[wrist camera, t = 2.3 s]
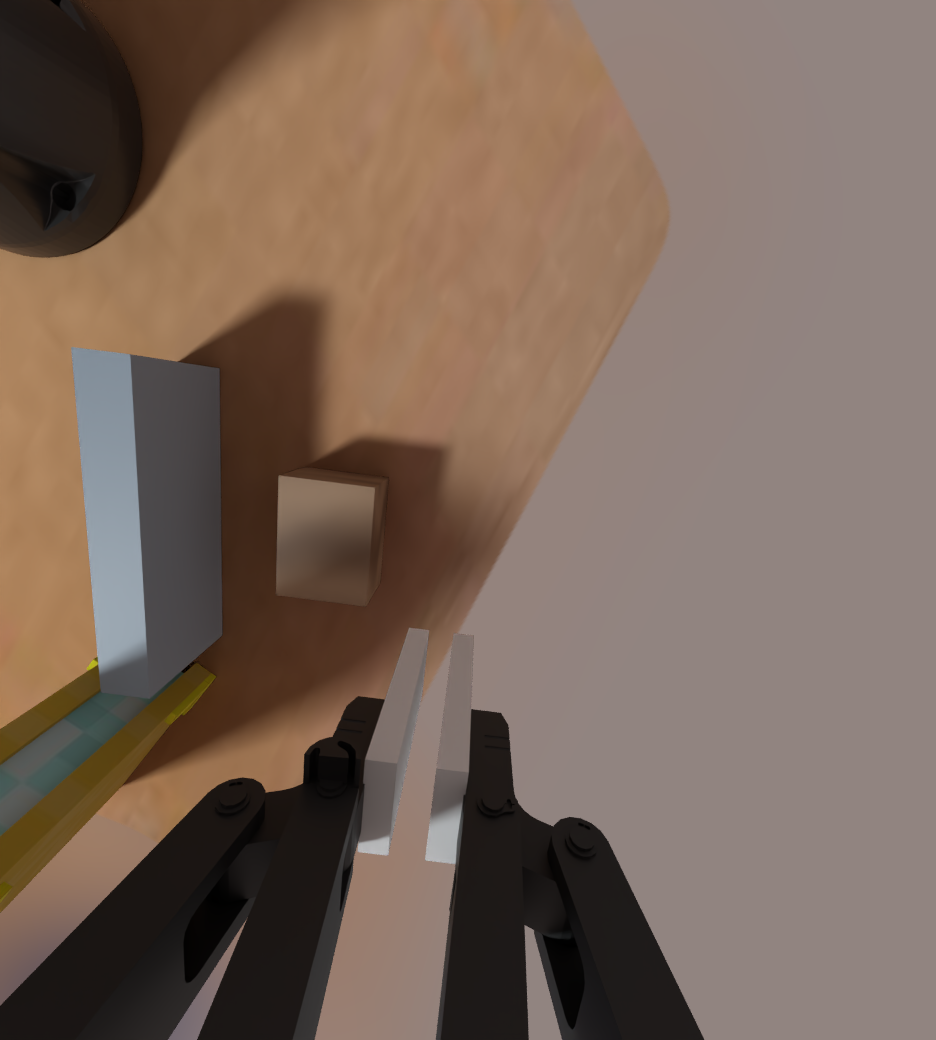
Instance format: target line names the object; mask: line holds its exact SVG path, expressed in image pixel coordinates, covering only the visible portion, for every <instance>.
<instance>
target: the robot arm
mask: <svg viewBox="0 0 936 1040" xmlns="http://www.w3.org/2000/svg"><path fill="white" fill-rule="evenodd" d="M141 157H142V127H141V118H140V111H139V106H138V101H137V97H136V94H135V90H134V87H133V84H132V81H131V78H130V75H129V73H128V70H127V67H126V65H125V63H124V61H123V59H122V57H121V55H120V53H119V51H118V49H117V47H116V45H115V44H114V42H113V41H112V39H111V37H110V36H109V34H108V33H107V31H106V30H105V28H104V27H103V26H102V24H101V23H100V22H99V21H98V19H97V18H96V17H95V16H94V15H93V13H92V12H91V11H90V10H89V9H88V8H87V7H86V6H85V5H84V4H83V3H82V2H81V1H80V0H0V249H3V250H6V251H9V252H12V253H16V254H20V255H24V256H30V257H59V256H64V255H68V254H72V253H75V252H78V251H80V250H83V249H85V248H87V247H89V246H91V245H92V244H94V243H95V242H97V241H98V240H100V239H101V238H102V237H103V236H105V235H106V234H107V233H108V232H109V231H110V230H111V229H112V228H113V227H114V226H115V224H116V223H117V222H118V220H119V219H120V218H121V216H122V215H123V213H124V211H125V210H126V208H127V206H128V204H129V202H130V200H131V198H132V195H133V193H134V190H135V187H136V184H137V180H138V176H139V171H140V165H141ZM428 637H429V630H424V629H416V628H409V630H408V632H407V635H406V638H405V641H404V644H403V647H402V650H401V653H400V656H399V659H398V662H397V665H396V668H395V671H394V674H393V677H392V680H391V683H390V686H389V689H388V692H387V695H386V698H385V700H384V699H376V698H368V697H360V696H358V697H357V698H355V699H354V700H353V701H352V702H351V703H350V704H348V705H347V706H346V709H345V711H344V713H343V715H342V717H341V721H340V722H339V724H338V726H337V729H336V731H335V733H334V735H333V737H329V738H326V739H322V740H319V741H318V742H316V743H315V744H313V745H312V746H310V747H309V749H308V750H307V751H306V753H305V754H304V778H303V784H301V785H298V786H296V787H294V788H290V789H286V790H281V791H274V792H268V793H265V789H264V787H263V786H262V784H261V783H260V782H258V781H256V780H254V779H250V778H237V779H231V780H228V781H226V782H224V783H222V784H219V785H218V786H216V787H215V788H214V789H212V790H211V791H210V792H209V793H207V794H206V796H205V797H204V798H203V799H202V800H201V801H200V802H199V803H198V804H197V805H196V806H195V807H194V808H193V809H192V810H191V811H190V812H189V813H188V814H187V815H186V816H185V817H184V818H183V819H182V820H181V821H180V822H179V823H178V824H177V825H176V826H175V827H174V828H173V829H172V830H171V831H170V832H169V833H168V834H167V835H166V837H165V838H164V839H163V840H162V841H161V842H160V843H159V844H158V845H157V846H156V847H155V848H154V849H153V850H152V851H151V852H150V853H149V854H148V855H147V856H146V857H145V858H144V859H143V860H142V861H141V862H140V863H139V864H138V865H137V866H136V867H135V868H134V869H133V870H132V871H131V872H130V873H129V874H128V875H127V877H126V878H125V879H124V880H123V881H122V882H121V883H120V884H119V885H118V886H117V887H116V888H115V889H114V890H113V891H112V892H111V893H110V894H109V895H108V896H107V897H106V898H105V899H104V900H103V901H102V902H101V903H100V904H99V905H98V906H97V907H96V908H95V909H94V910H93V911H92V913H90V914H89V915H88V916H87V918H86V919H85V920H84V921H83V922H82V923H81V924H80V925H79V926H78V927H77V928H76V929H75V930H74V931H73V932H72V933H71V934H70V935H69V936H68V937H67V938H66V939H65V940H64V941H63V942H62V943H61V944H60V945H59V946H58V947H57V948H56V949H55V950H54V951H53V952H52V953H51V954H50V956H48V957H47V958H46V959H45V961H44V962H43V963H42V964H41V965H40V966H39V967H38V968H37V969H36V970H35V971H34V972H33V973H32V974H31V975H30V976H29V977H28V978H27V979H26V980H25V981H24V982H23V983H22V984H21V985H20V986H19V987H18V988H17V989H16V990H15V991H14V992H13V993H12V994H11V996H9V997H8V998H7V999H6V1000H5V1002H4V1003H3V1004H2V1005H1V1006H0V1040H168V1039H169V1037H170V1035H171V1034H172V1032H173V1031H174V1029H175V1028H176V1026H177V1025H178V1023H179V1022H180V1020H181V1019H182V1017H183V1016H184V1014H185V1012H186V1011H187V1009H188V1008H189V1006H190V1005H191V1003H192V1002H193V1000H194V999H195V997H196V995H197V994H198V993H199V991H200V990H201V988H202V986H203V985H204V983H205V982H206V980H207V979H208V977H209V976H210V974H211V973H212V971H213V970H214V968H215V967H216V965H217V963H218V962H219V960H220V959H221V957H222V956H223V954H224V953H225V951H226V950H227V948H228V947H229V945H230V943H231V942H232V940H233V939H234V937H235V936H236V934H237V933H238V931H239V930H240V928H241V927H242V925H243V923H244V922H245V921H246V919H247V921H246V923H245V925H244V928H243V930H242V933H241V935H240V937H239V940H238V942H237V945H236V947H235V949H234V952H233V955H232V957H231V959H230V961H229V964H228V966H227V969H226V971H225V974H224V976H223V978H222V981H221V983H220V986H219V988H218V991H217V993H216V995H215V998H214V1000H213V1003H212V1005H211V1007H210V1010H209V1012H208V1015H207V1017H206V1020H205V1022H204V1024H203V1027H202V1029H201V1031H200V1034H199V1037H198V1039H197V1040H314V1039H315V1035H316V1031H317V1026H318V1022H319V1018H320V1013H321V1009H322V1004H323V1000H324V996H325V991H326V986H327V983H328V978H329V974H330V970H331V965H332V961H333V956H334V952H335V947H336V943H337V939H338V934H339V930H340V926H341V921H342V917H343V913H344V908H345V904H346V900H347V895H348V891H349V886H350V882H351V878H352V872H353V860H354V854H355V851H356V847H357V844H358V852H364V853H372V854H380V855H388V854H389V849H390V844H391V839H392V835H393V830H394V825H395V821H396V816H397V811H398V806H399V802H400V797H401V792H402V787H403V782H404V778H405V773H406V768H407V763H408V759H409V754H410V749H411V744H412V739H413V735H414V730H415V726H416V721H417V716H418V712H419V707H420V702H421V697H422V692H423V682H424V673H425V664H426V655H427V646H428ZM473 645H474V636H472V635H464V634H456V633H454V635H453V643H452V651H451V659H450V666H449V674H448V682H447V690H446V698H445V706H444V713H443V721H442V729H441V737H440V746H439V753H438V761H437V768H436V776H435V785H434V793H433V801H432V809H431V817H430V825H429V833H428V841H427V849H426V857H425V860H427V861H435V862H444V863H451V864H456V865H455V874H454V881H453V888H452V895H451V902H450V909H449V910H450V916H449V925H448V934H447V943H446V952H445V961H444V971H443V979H442V989H441V998H440V1007H439V1017H438V1025H437V1034H436V1040H529V1038H528V1009H527V983H526V956H525V930H524V925H526V926H528V927H530V928H532V929H533V930H534V934H535V938H536V942H537V946H538V950H539V953H540V957H541V961H542V965H543V968H544V972H545V976H546V980H547V984H548V987H549V991H550V995H551V999H552V1002H553V1006H554V1010H555V1014H556V1018H557V1022H558V1025H559V1029H560V1033H561V1036H562V1040H704V1038H703V1036H702V1034H701V1032H700V1030H699V1028H698V1026H697V1024H696V1021H695V1019H694V1018H693V1015H692V1013H691V1011H690V1009H689V1007H688V1005H687V1003H686V1001H685V999H684V997H683V995H682V993H681V991H680V989H679V986H678V984H677V983H676V980H675V978H674V976H673V974H672V972H671V970H670V968H669V966H668V964H667V962H666V960H665V958H664V956H663V953H662V951H661V949H660V947H659V945H658V943H657V941H656V939H655V937H654V935H653V933H652V931H651V929H650V927H649V925H648V923H647V921H646V919H645V916H644V914H643V912H642V910H641V908H640V906H639V904H638V902H637V900H636V898H635V896H634V894H633V892H632V890H631V888H630V885H629V883H628V881H627V879H626V878H625V875H624V873H623V871H622V869H621V867H620V865H619V863H618V861H617V859H616V857H615V855H614V853H613V850H612V849H611V847H610V844H609V842H608V841H607V839H606V838H605V836H604V835H603V834H602V832H601V831H600V830H599V829H598V828H596V827H595V826H594V825H593V824H592V823H590V822H587V821H585V820H583V819H581V818H573V817H568V818H564V819H561V820H560V821H559V822H557V823H556V824H555V825H554V827H553V826H551V825H548V824H546V823H544V822H541V821H539V820H537V819H535V818H533V817H532V816H530V815H529V814H528V813H527V812H525V811H524V810H523V809H522V808H521V806H520V805H519V804H518V801H517V799H516V798H515V795H514V788H513V776H512V765H511V752H510V740H509V730H508V729H509V727H508V724H507V722H506V721H505V719H504V717H503V716H502V714H501V713H497V712H489V711H481V710H473V709H471V697H472V671H473ZM358 841H359V842H358ZM247 917H248V918H247Z"/></svg>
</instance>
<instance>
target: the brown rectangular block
mask: <svg viewBox="0 0 936 1040" xmlns="http://www.w3.org/2000/svg"><path fill="white" fill-rule="evenodd" d="M388 484H389V478H388V477H380V476H372V475H365V474H357V473H349V472H341V471H333V470H325V469H317V468H310V467H303V468H300V469H297V470H294V471H291V472H288V473H285V474H281V475H279V478H278V521H277V564H276V595H278V596H286V597H294V598H301V599H309V600H317V601H325V602H333V603H340V604H348V605H356V606H364V607H366V606H367V604H368V603H369V601H370V599H371V598H372V596H373V594H374V593H375V591H376V589H377V587H378V586H379V584H380V581H381V569H382V557H383V545H384V533H385V520H386V508H387V496H388Z"/></svg>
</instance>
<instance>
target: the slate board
mask: <svg viewBox="0 0 936 1040" xmlns="http://www.w3.org/2000/svg"><path fill="white" fill-rule="evenodd" d="M71 349H72V361H73V372H74V384H75V396H76V408H77V419H78V431H79V443H80V454H81V466H82V478H83V490H84V501H85V513H86V525H87V537H88V548H89V560H90V572H91V583H92V595H93V607H94V619H95V630H96V642H97V654H98V666H99V677H100V689H101V693H108V694H116V695H124V696H132V697H140V698H148V699H150V698H151V697H152V696H153V695H154V694H155V693H157V692H158V691H159V690H160V689H161V688H162V687H164V686H165V685H166V684H167V683H168V682H169V681H170V680H172V679H173V678H174V677H175V676H176V675H177V674H178V673H180V672H181V671H182V670H183V669H184V668H185V667H187V666H188V665H189V664H190V663H191V662H192V661H193V660H195V659H196V658H197V657H198V656H199V655H200V654H201V653H203V652H204V651H205V650H206V649H207V648H208V647H210V646H211V645H212V644H213V643H214V642H215V641H216V640H218V639H219V638H220V637H221V636H222V635H223V634H222V544H221V454H220V368H214V367H208V366H201V365H195V364H188V363H182V362H175V361H169V360H163V359H156V358H150V357H143V356H137V355H131V354H123V353H115V352H107V351H98V350H90V349H82V348H74V347H71Z"/></svg>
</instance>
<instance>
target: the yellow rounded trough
mask: <svg viewBox="0 0 936 1040" xmlns="http://www.w3.org/2000/svg"><path fill="white" fill-rule="evenodd" d="M87 670H89V671H87V672H86V673H84V674H83V675H81V676H80V677H78V678H77V679H75V680H74V681H72V682H71V683H69V684H68V685H66V686H65V687H63V688H62V689H60V690H59V691H57V692H56V693H54V694H53V695H51V696H50V697H48V698H47V699H45V700H44V701H42V702H41V703H39V704H38V705H36V706H35V707H33V708H32V709H30V710H29V711H27V712H26V713H24V714H23V715H21V716H20V717H18V718H17V719H15V720H14V721H12V722H10V723H9V724H7V725H6V726H4V727H3V728H1V729H0V913H1V912H2V911H3V910H4V909H5V908H6V907H7V905H8V904H9V903H10V902H11V901H12V900H13V899H14V898H15V897H16V896H17V895H18V894H19V893H20V892H21V891H22V890H23V889H24V888H25V887H26V885H28V883H29V882H30V881H31V880H32V879H33V878H34V877H35V876H36V875H37V874H38V873H39V872H40V871H41V870H42V869H43V868H44V867H45V866H46V865H47V863H49V862H50V860H51V859H52V858H53V857H54V856H55V855H56V854H57V853H58V852H59V851H60V850H61V849H62V848H63V847H64V846H65V845H66V844H67V843H68V842H69V841H70V840H71V839H72V837H73V836H74V835H75V834H76V833H77V832H78V831H79V830H80V829H81V828H82V827H83V826H84V825H85V824H86V823H87V822H88V821H89V820H90V819H91V818H92V817H93V816H94V815H95V814H96V812H97V811H98V810H99V809H100V808H101V807H102V806H103V805H104V804H105V803H106V802H107V801H108V800H109V799H110V798H111V797H112V796H113V795H114V794H115V793H116V792H117V791H118V789H119V788H120V787H121V786H122V785H123V784H124V783H125V781H126V780H127V779H128V778H129V776H130V775H131V774H132V773H133V771H134V770H135V769H136V768H137V766H138V765H139V764H140V762H141V761H142V760H143V759H144V757H145V756H146V755H147V754H148V752H149V751H150V750H151V749H152V747H153V746H154V745H155V744H156V742H157V741H158V740H159V739H160V737H161V736H162V735H163V734H164V732H165V731H166V730H167V729H168V727H169V726H170V725H171V724H172V723H173V722H174V721H175V720H176V719H177V718H178V717H179V716H180V715H181V714H182V715H185V714H186V713H187V712H188V711H189V710H190V709H191V708H192V707H193V705H194V704H195V703H196V702H197V700H198V699H199V698H200V697H201V695H202V694H203V693H204V692H205V690H206V689H207V688H208V687H209V685H210V684H211V683H212V682H213V680H214V679H215V678H216V676H215V675H213V674H212V673H210V672H209V671H208V670H206V669H205V668H203V667H202V666H200V665H199V664H198V663H195V664H194V665H193V666H192V667H191V668H190V669H189V670H187V671H186V672H185V673H182V672H180V673H178V674H177V675H176V676H175V677H174V678H173V679H172V680H170V681H169V682H168V683H167V684H166V685H165V686H164V687H162V688H161V689H160V690H159V691H158V692H157V693H155V694H154V695H153V696H152V697H151V698H150V699H148V698H140V697H132V696H124V695H116V694H108V693H101V689H100V677H99V666H98V657H96V658H95V659H93V661H92V662H91V663H90V665H89V666H88V668H87Z"/></svg>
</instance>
